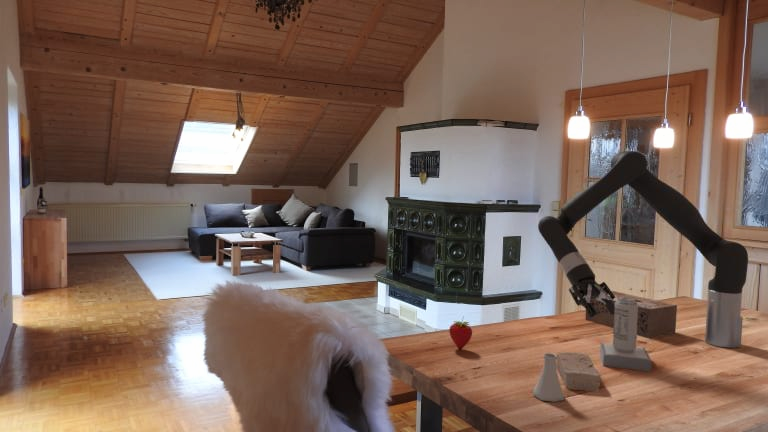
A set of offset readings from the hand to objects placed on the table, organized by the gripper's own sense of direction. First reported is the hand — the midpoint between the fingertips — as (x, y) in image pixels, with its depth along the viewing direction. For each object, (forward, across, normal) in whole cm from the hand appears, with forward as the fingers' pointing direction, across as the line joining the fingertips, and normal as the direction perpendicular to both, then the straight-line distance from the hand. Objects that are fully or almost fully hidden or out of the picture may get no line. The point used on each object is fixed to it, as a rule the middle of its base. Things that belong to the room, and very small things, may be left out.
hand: (604, 314), depth 158 cm
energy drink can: (+11, 0, +1) cm, 11 cm away
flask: (+21, -38, -3) cm, 43 cm away
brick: (+17, -22, +1) cm, 28 cm away
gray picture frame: (+14, 0, +3) cm, 14 cm away
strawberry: (-6, -36, +24) cm, 44 cm away
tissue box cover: (-4, +35, +22) cm, 42 cm away
